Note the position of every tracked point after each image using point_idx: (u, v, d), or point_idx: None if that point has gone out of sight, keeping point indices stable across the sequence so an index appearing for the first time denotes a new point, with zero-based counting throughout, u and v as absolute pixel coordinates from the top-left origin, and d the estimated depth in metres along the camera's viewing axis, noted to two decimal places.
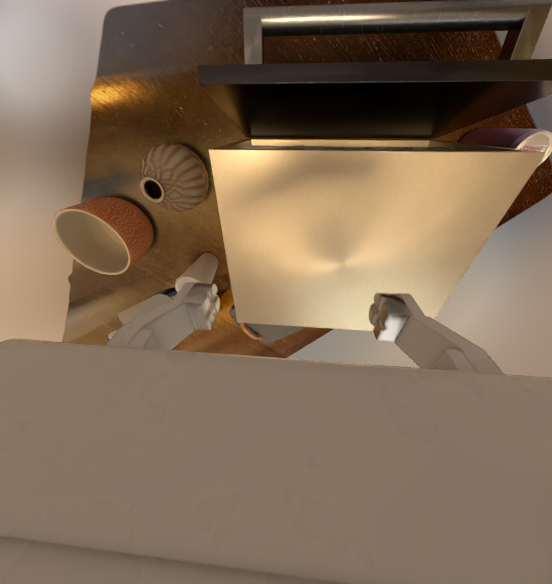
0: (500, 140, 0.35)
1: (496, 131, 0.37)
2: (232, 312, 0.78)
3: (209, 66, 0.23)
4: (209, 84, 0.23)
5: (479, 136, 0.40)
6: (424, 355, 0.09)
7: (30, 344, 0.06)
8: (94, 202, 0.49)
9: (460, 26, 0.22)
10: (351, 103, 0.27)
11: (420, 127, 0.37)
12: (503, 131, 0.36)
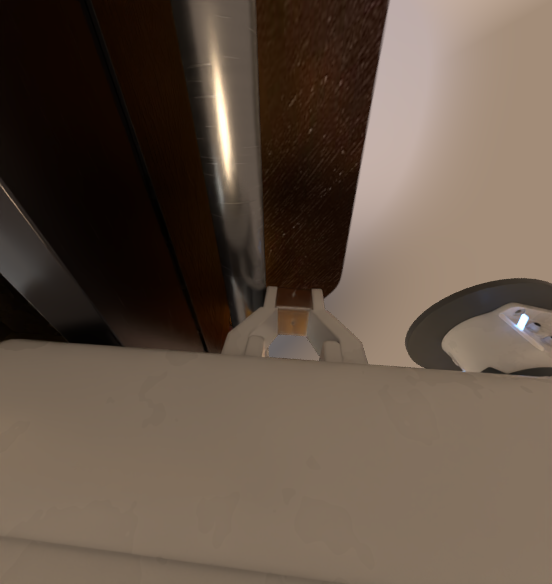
0: None
1: None
2: None
3: None
4: None
5: None
6: None
7: (30, 344, 0.06)
8: None
9: None
10: None
11: None
12: None
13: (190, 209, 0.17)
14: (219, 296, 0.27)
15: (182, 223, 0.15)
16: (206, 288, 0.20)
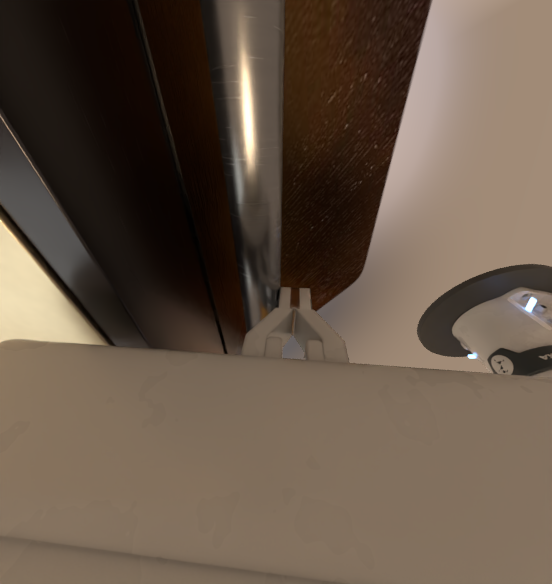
0: None
1: None
2: None
3: None
4: None
5: None
6: None
7: (30, 344, 0.06)
8: None
9: None
10: None
11: None
12: None
13: (220, 204, 0.17)
14: None
15: (211, 218, 0.15)
16: (229, 281, 0.21)
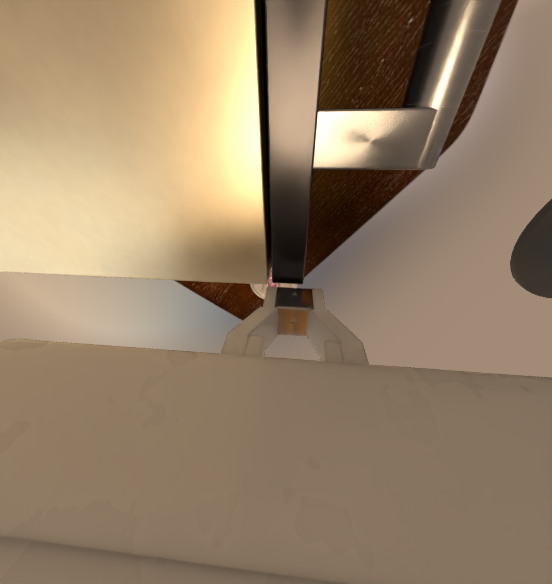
0: None
1: None
2: None
3: None
4: None
5: None
6: None
7: (30, 344, 0.06)
8: None
9: None
10: None
11: None
12: None
13: None
14: None
15: None
16: None
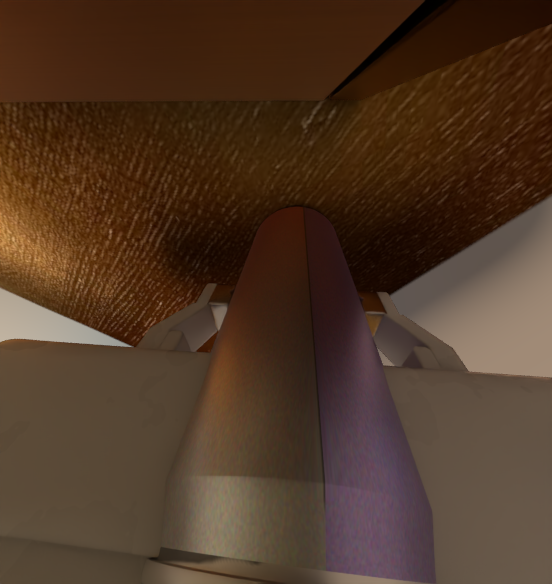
0: (352, 342, 0.05)
1: None
2: None
3: None
4: None
5: (333, 247, 0.10)
6: (398, 353, 0.09)
7: (30, 344, 0.06)
8: None
9: None
10: None
11: None
12: (366, 320, 0.08)
13: None
14: None
15: None
16: None
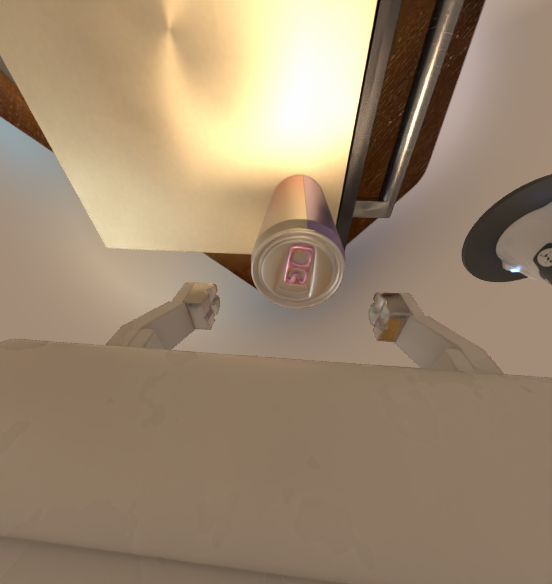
0: (321, 210, 0.14)
1: (329, 211, 0.17)
2: None
3: None
4: None
5: (319, 191, 0.19)
6: (424, 355, 0.09)
7: (30, 344, 0.06)
8: None
9: (397, 143, 0.22)
10: None
11: None
12: None
13: None
14: None
15: None
16: None
